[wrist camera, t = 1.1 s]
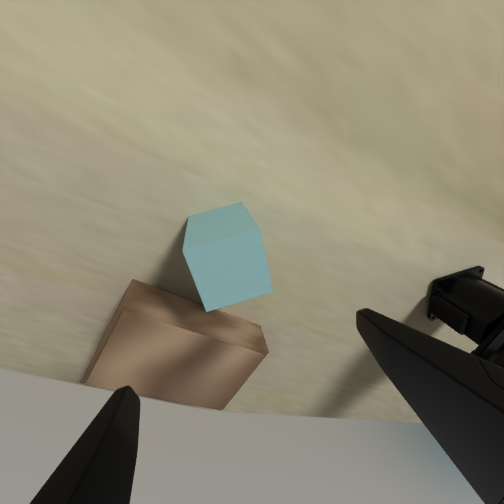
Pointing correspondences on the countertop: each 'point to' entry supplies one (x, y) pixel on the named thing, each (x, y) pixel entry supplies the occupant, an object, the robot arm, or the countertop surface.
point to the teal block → (226, 256)
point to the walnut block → (175, 350)
